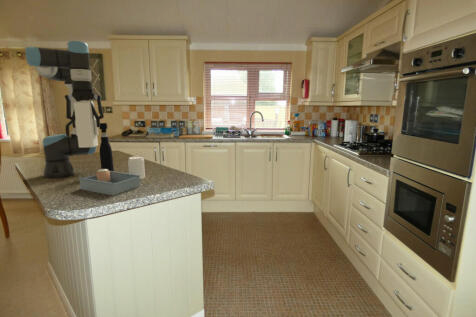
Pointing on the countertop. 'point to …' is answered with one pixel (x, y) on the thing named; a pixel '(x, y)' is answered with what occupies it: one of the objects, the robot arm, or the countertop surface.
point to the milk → (85, 124)
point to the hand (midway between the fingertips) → (87, 135)
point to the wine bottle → (105, 150)
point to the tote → (117, 185)
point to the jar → (103, 175)
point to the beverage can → (136, 166)
